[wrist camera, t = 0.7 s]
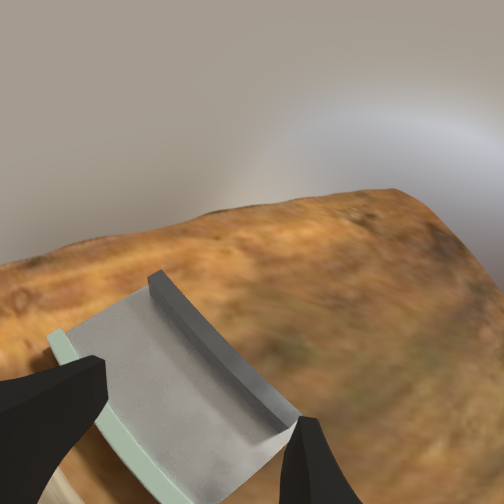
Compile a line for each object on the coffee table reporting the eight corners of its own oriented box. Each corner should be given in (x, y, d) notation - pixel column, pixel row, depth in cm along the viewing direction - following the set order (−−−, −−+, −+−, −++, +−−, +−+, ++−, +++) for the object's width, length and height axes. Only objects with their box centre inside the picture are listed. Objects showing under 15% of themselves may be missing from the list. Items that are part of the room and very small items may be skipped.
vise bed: (185, 525, 15) (184, 534, 13) (52, 347, 22) (37, 329, 20) (300, 427, 23) (316, 418, 20) (161, 282, 30) (159, 259, 27)
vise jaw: (180, 515, 15) (179, 520, 13) (56, 348, 22) (46, 336, 20) (195, 505, 16) (195, 508, 14) (69, 340, 22) (60, 327, 21)
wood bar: (70, 541, 11) (45, 551, 8) (-4, 424, 16) (-35, 409, 12) (103, 524, 14) (84, 533, 10) (24, 406, 18) (-4, 389, 15)
